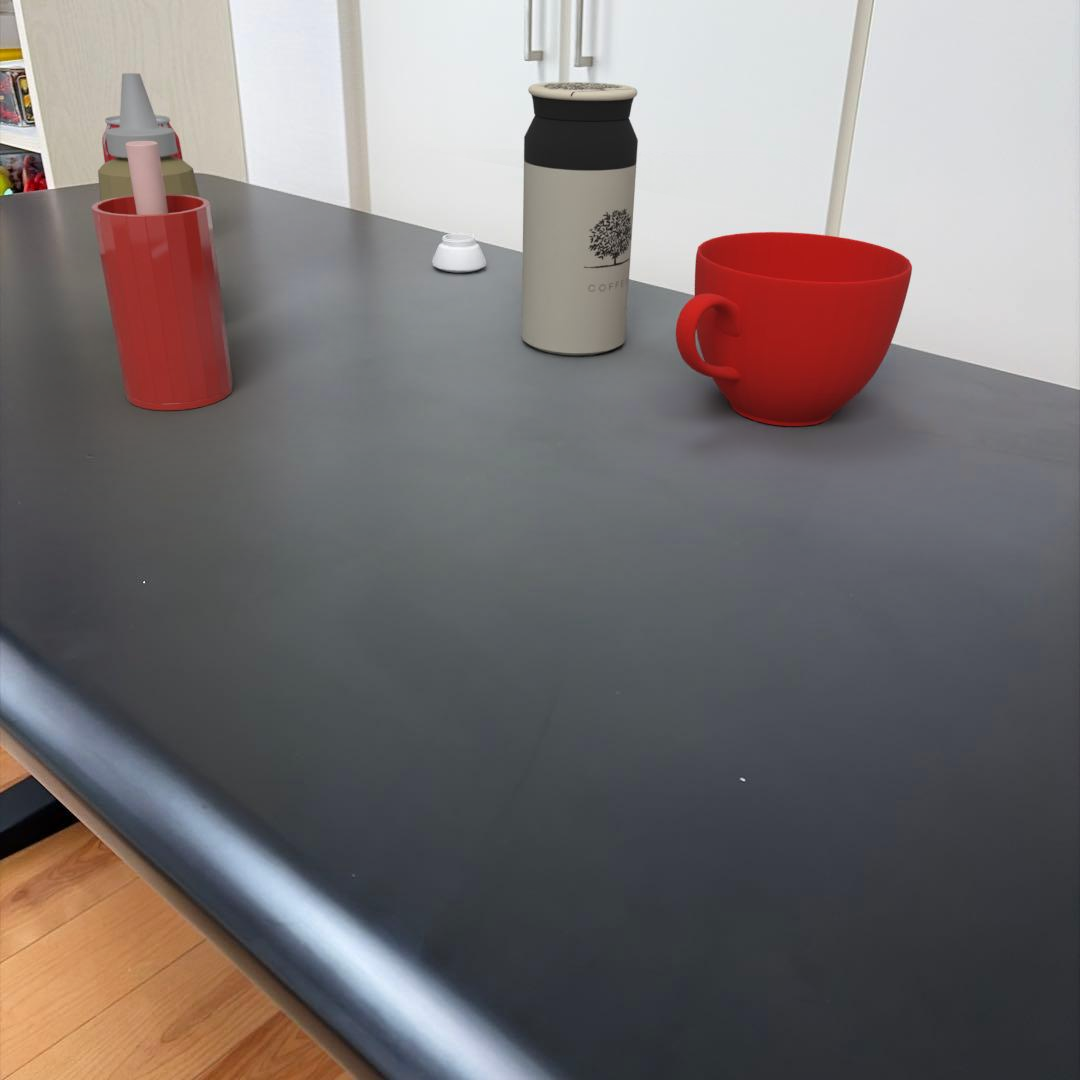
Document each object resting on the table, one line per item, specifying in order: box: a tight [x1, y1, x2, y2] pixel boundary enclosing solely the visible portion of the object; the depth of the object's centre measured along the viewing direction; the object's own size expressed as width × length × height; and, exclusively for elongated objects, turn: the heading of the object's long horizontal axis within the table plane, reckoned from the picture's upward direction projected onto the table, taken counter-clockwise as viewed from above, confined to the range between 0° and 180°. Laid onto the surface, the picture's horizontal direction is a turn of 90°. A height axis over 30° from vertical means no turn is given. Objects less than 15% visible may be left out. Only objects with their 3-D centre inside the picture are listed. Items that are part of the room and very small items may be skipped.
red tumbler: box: [91, 194, 234, 412], centre depth 65 cm, size 7×7×12 cm
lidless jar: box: [431, 232, 487, 274], centre depth 97 cm, size 5×3×5 cm
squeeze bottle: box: [97, 72, 200, 202], centre depth 76 cm, size 8×8×18 cm
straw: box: [126, 141, 168, 215], centre depth 64 cm, size 2×2×15 cm
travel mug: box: [521, 81, 639, 357], centre depth 75 cm, size 8×8×18 cm
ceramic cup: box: [675, 231, 913, 427], centre depth 64 cm, size 13×17×10 cm
